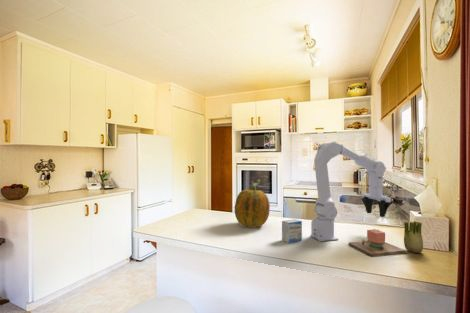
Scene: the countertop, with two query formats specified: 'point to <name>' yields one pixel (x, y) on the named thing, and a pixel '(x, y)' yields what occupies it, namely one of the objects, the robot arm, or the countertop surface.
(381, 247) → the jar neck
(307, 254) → the countertop surface
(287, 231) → the medicine box
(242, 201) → the pumpkin
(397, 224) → the countertop surface
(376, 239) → the lid
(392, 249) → the board
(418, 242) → the fennel bulb
